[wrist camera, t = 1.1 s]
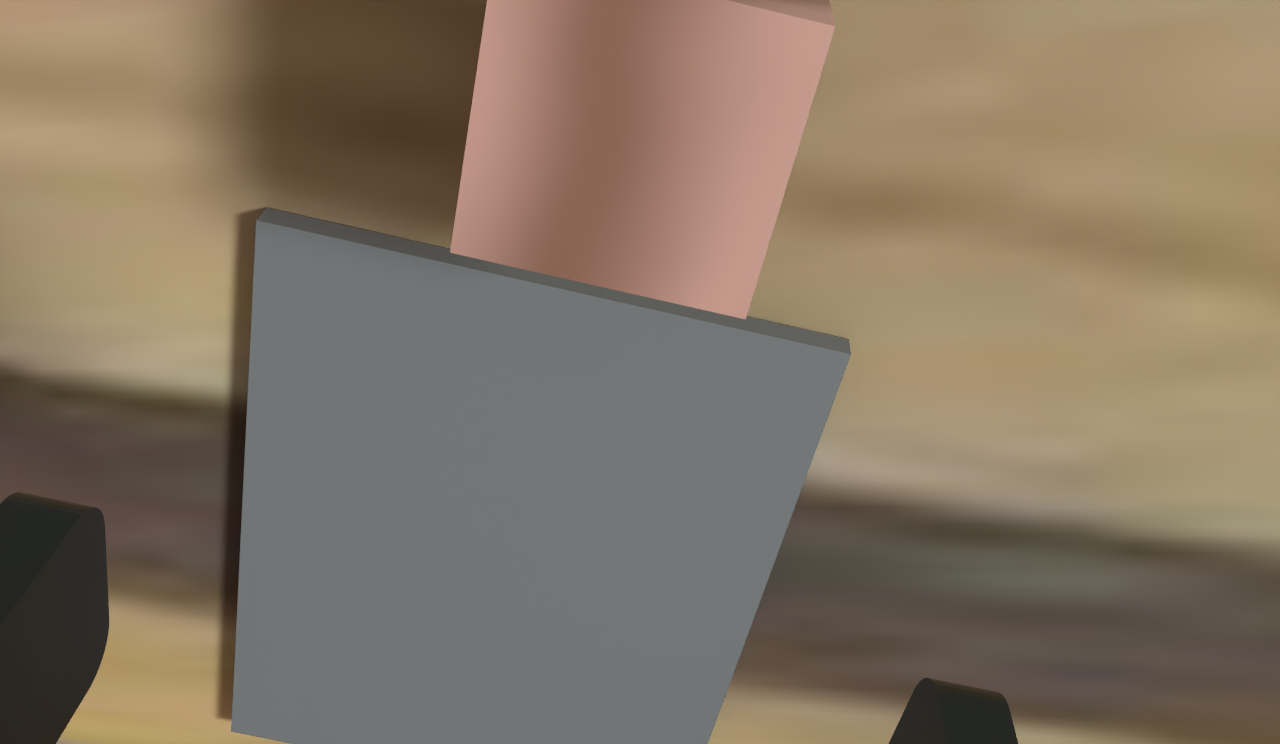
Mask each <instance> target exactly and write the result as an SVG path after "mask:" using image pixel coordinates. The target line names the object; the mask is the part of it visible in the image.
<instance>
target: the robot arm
mask: <svg viewBox="0 0 1280 744" xmlns="http://www.w3.org/2000/svg"><path fill="white" fill-rule="evenodd" d="M108 630H109V606H108V584H107V562H106V540H105V523H104V517H103V514H102V512H101V511H100V510H99V509H98V508H95V507H91V506H86V505H81V504H76V503H71V502H66V501H61V500H56V499H51V498H46V497H41V496H36V495H31V494H26V493H21V492H17V493H14V494H11V495H10V496H8V497H7V498H6V499H5V500H4V501H3V502H2V503H1V504H0V744H56V742H57V741H58V739H59V737H60V736H61V734H62V733H63V731H64V729H65V728H66V726H67V724H68V723H69V721H70V719H71V718H72V716H73V714H74V713H75V711H76V709H77V708H78V706H79V705H80V703H81V701H82V700H83V698H84V696H85V695H86V693H87V691H88V690H89V688H90V686H91V684H92V682H93V680H94V678H95V676H96V674H97V671H98V669H99V666H100V663H101V661H102V658H103V654H104V651H105V647H106V642H107V637H108ZM889 744H1018V741H1017V737H1016V733H1015V729H1014V725H1013V721H1012V717H1011V713H1010V710H1009V706H1008V703H1007V701H1006V699H1005V698H1004V696H1003V695H1002V694H1000V693H999V692H995V691H990V690H985V689H980V688H975V687H970V686H965V685H960V684H955V683H950V682H945V681H940V680H935V679H930V678H924V679H922V680H921V681H920V682H919V683H918V685H917V686H916V688H915V690H914V691H913V694H912V696H911V698H910V700H909V702H908V704H907V706H906V708H905V710H904V712H903V715H902V717H901V719H900V721H899V723H898V725H897V727H896V729H895V731H894V734H893V736H892V738H891V740H890V742H889Z"/></svg>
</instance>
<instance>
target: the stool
mask: <svg viewBox="0 0 1280 744" xmlns="http://www.w3.org/2000/svg"><path fill="white" fill-rule="evenodd" d="M834 30H835V22H834V18H833V14H832V10H831V6H830V2H829V0H487V4H486V11H485V18H484V25H483V31H482V38H481V45H480V52H479V59H478V65H477V72H476V79H475V86H474V93H473V99H472V106H471V113H470V120H469V127H468V133H467V140H466V147H465V154H464V160H463V167H462V174H461V181H460V188H459V194H458V201H457V208H456V215H455V222H454V228H453V235H452V242H451V249H450V253H454V254H458V255H463V256H467V257H471V258H476V259H480V260H485V261H489V262H494V263H498V264H502V265H507V266H511V267H516V268H520V269H525V270H529V271H533V272H538V273H542V274H547V275H551V276H556V277H560V278H564V279H569V280H573V281H578V282H582V283H587V284H591V285H595V286H600V287H604V288H609V289H613V290H618V291H622V292H626V293H631V294H635V295H640V296H644V297H649V298H653V299H657V300H662V301H666V302H671V303H675V304H680V305H684V306H688V307H693V308H697V309H702V310H706V311H710V312H715V313H719V314H724V315H728V316H733V317H737V318H741V319H746V317H747V314H748V310H749V307H750V304H751V301H752V297H753V294H754V291H755V288H756V284H757V281H758V278H759V274H760V271H761V268H762V265H763V261H764V258H765V255H766V252H767V248H768V245H769V242H770V239H771V235H772V232H773V229H774V226H775V222H776V219H777V216H778V212H779V209H780V206H781V203H782V199H783V196H784V193H785V190H786V186H787V183H788V180H789V177H790V173H791V170H792V167H793V164H794V160H795V157H796V154H797V150H798V147H799V144H800V141H801V137H802V134H803V131H804V128H805V124H806V121H807V118H808V115H809V111H810V108H811V105H812V102H813V98H814V95H815V92H816V88H817V85H818V82H819V79H820V75H821V72H822V69H823V66H824V62H825V59H826V56H827V53H828V49H829V46H830V43H831V40H832V36H833V33H834Z"/></svg>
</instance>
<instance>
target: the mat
mask: <svg viewBox="0 0 1280 744" xmlns="http://www.w3.org/2000/svg"><path fill="white" fill-rule="evenodd" d="M850 355H851V352H850V345H849V339H845V338H841V337H837V336H832V335H828V334H823V333H819V332H815V331H810V330H806V329H801V328H797V327H792V326H788V325H784V324H779V323H775V322H770V321H766V320H761V319H757V318H753V317H748V316H747V317H746V319H741V318H737V317H733V316H728V315H724V314H719V313H715V312H710V311H706V310H702V309H697V308H693V307H688V306H684V305H680V304H675V303H671V302H666V301H662V300H657V299H653V298H649V297H644V296H640V295H635V294H631V293H626V292H622V291H618V290H613V289H609V288H604V287H600V286H595V285H591V284H587V283H582V282H578V281H573V280H569V279H564V278H560V277H556V276H551V275H547V274H542V273H538V272H533V271H529V270H525V269H520V268H516V267H511V266H507V265H502V264H498V263H494V262H489V261H485V260H480V259H476V258H471V257H467V256H463V255H458V254H454V253H450V249H447V248H443V247H439V246H434V245H430V244H425V243H421V242H417V241H412V240H408V239H403V238H399V237H394V236H390V235H386V234H381V233H377V232H372V231H368V230H363V229H359V228H355V227H350V226H346V225H341V224H337V223H333V222H328V221H324V220H319V219H315V218H310V217H306V216H302V215H297V214H293V213H288V212H284V211H279V210H275V209H271V208H266V209H265V210H264V211H263V212H262V214H261V215H260V216H259V217H258V219H257V220H256V234H255V255H254V275H253V296H252V316H251V337H250V357H249V378H248V398H247V419H246V439H245V459H244V480H243V500H242V521H241V541H240V562H239V582H238V603H237V623H236V644H235V664H234V685H233V705H232V726H231V732H236V733H241V734H246V735H251V736H256V737H261V738H266V739H271V740H276V741H281V742H286V743H291V744H708V741H709V739H710V736H711V733H712V730H713V728H714V725H715V722H716V720H717V717H718V714H719V711H720V709H721V706H722V703H723V701H724V698H725V695H726V692H727V690H728V687H729V684H730V682H731V679H732V676H733V673H734V671H735V668H736V665H737V662H738V660H739V657H740V654H741V652H742V649H743V646H744V643H745V641H746V638H747V635H748V633H749V630H750V627H751V624H752V622H753V619H754V616H755V614H756V611H757V608H758V605H759V603H760V600H761V597H762V595H763V592H764V589H765V586H766V584H767V581H768V578H769V576H770V573H771V570H772V567H773V565H774V562H775V559H776V557H777V554H778V551H779V548H780V546H781V543H782V540H783V537H784V535H785V532H786V529H787V527H788V524H789V521H790V518H791V516H792V513H793V510H794V508H795V505H796V502H797V499H798V497H799V494H800V491H801V489H802V486H803V483H804V480H805V478H806V475H807V472H808V470H809V467H810V464H811V461H812V459H813V456H814V453H815V451H816V448H817V445H818V442H819V440H820V437H821V434H822V432H823V429H824V426H825V423H826V421H827V418H828V415H829V412H830V410H831V407H832V404H833V402H834V399H835V396H836V393H837V391H838V388H839V385H840V383H841V380H842V377H843V374H844V372H845V369H846V366H847V364H848V361H849V358H850Z"/></svg>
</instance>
